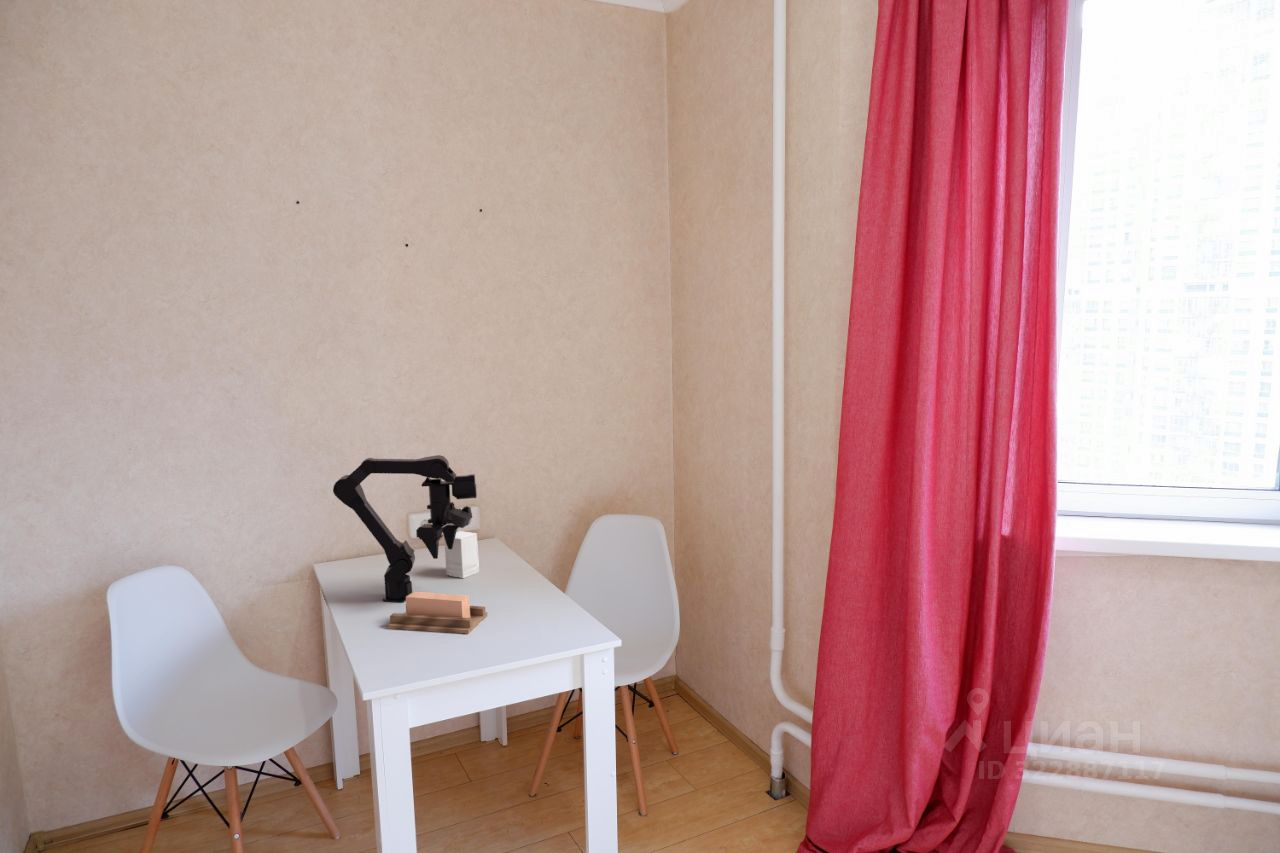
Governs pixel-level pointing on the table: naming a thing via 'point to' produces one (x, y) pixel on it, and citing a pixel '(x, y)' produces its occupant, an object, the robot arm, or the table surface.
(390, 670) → the table surface
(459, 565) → the supplement box
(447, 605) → the peach rectangular block
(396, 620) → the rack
